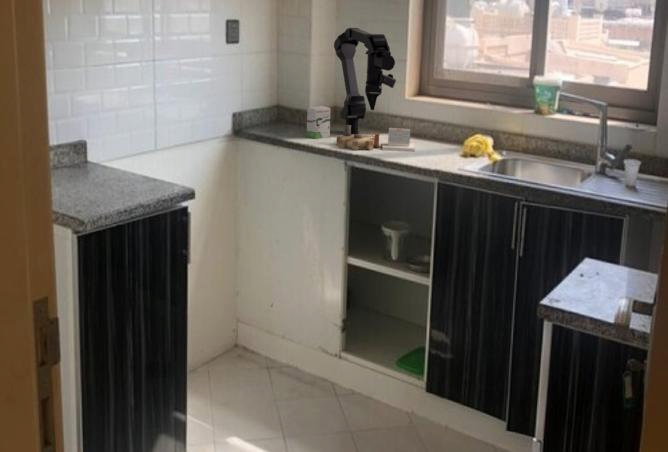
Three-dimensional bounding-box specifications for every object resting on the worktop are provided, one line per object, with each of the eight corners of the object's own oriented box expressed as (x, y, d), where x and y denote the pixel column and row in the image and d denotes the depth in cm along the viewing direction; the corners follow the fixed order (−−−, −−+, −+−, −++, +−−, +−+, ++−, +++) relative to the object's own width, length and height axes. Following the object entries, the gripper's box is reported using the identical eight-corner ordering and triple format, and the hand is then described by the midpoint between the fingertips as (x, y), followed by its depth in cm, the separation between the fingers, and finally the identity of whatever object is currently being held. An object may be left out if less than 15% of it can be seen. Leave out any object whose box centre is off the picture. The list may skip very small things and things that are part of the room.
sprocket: (328, 145, 320) (328, 126, 318) (353, 139, 332) (354, 121, 330) (361, 151, 311) (362, 132, 309) (386, 145, 323) (387, 127, 321)
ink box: (314, 139, 332) (315, 109, 329) (305, 137, 336) (306, 107, 332) (330, 136, 338) (331, 107, 334) (321, 134, 341) (322, 105, 338)
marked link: (387, 143, 324) (389, 127, 322) (408, 144, 324) (410, 128, 322) (388, 145, 320) (389, 129, 318) (409, 146, 320) (410, 130, 318)
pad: (382, 143, 328) (382, 141, 327) (413, 145, 327) (413, 142, 327) (382, 149, 317) (382, 146, 317) (414, 151, 317) (414, 148, 316)
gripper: (396, 71, 315) (393, 113, 319) (395, 65, 332) (392, 105, 337) (366, 70, 315) (364, 111, 320) (366, 64, 333) (364, 104, 337)
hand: (372, 108), depth 328 cm, fingers open, 9 cm apart
